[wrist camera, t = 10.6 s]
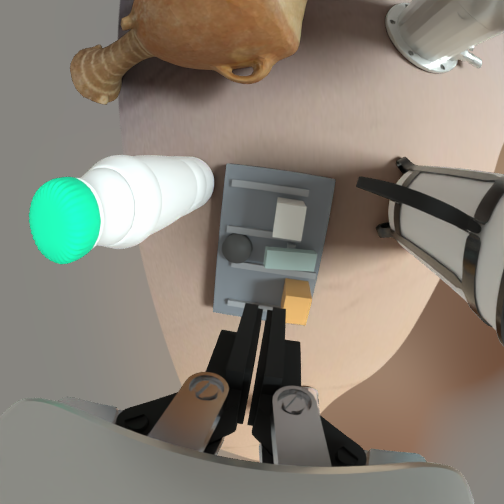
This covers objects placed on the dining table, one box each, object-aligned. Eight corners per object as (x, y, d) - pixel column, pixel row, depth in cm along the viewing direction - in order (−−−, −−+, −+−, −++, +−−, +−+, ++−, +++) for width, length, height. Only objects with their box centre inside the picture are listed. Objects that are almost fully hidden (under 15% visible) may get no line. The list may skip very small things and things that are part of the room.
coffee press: (438, 134, 29) (622, 137, 1) (465, 235, 33) (607, 331, 4) (335, 175, 33) (528, 235, 4) (374, 281, 37) (477, 461, 8)
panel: (331, 178, 33) (337, 180, 30) (304, 316, 39) (305, 330, 36) (230, 163, 34) (224, 163, 30) (216, 303, 40) (211, 316, 37)
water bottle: (226, 183, 35) (120, 229, 11) (189, 219, 37) (63, 310, 13) (190, 145, 33) (45, 130, 10) (155, 182, 35) (4, 224, 12)
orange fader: (308, 281, 35) (312, 299, 30) (302, 305, 36) (305, 325, 31) (285, 278, 35) (285, 295, 30) (280, 302, 36) (280, 322, 32)
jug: (364, 73, 19) (94, 171, 27) (319, 36, 29) (141, 102, 38) (289, -115, 3) (2, 55, 12) (272, -72, 14) (84, 17, 23)
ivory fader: (302, 200, 32) (306, 207, 27) (298, 230, 33) (301, 241, 28) (277, 197, 32) (277, 202, 27) (273, 226, 33) (272, 236, 29)
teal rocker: (313, 250, 33) (317, 254, 32) (310, 267, 34) (313, 271, 33) (265, 246, 32) (267, 250, 31) (263, 263, 33) (264, 268, 32)
